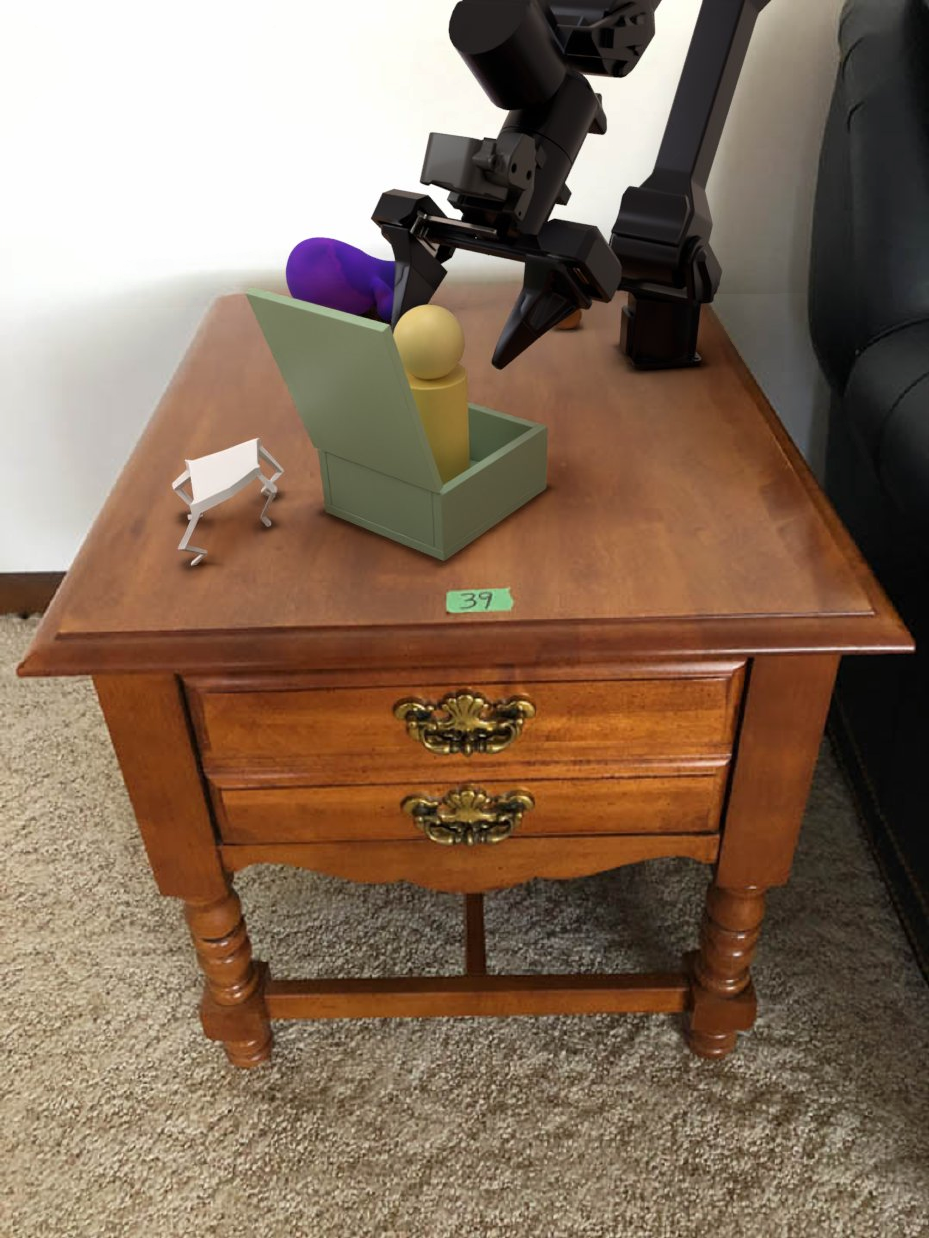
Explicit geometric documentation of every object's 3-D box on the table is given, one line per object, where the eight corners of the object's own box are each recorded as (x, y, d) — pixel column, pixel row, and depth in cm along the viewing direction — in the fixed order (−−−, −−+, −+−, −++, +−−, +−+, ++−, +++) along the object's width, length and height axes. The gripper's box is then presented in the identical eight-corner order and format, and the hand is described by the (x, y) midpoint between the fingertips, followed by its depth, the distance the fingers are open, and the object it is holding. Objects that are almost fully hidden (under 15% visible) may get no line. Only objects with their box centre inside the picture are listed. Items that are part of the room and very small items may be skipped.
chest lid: (251, 286, 65) (244, 293, 64) (389, 324, 59) (382, 331, 58) (319, 441, 75) (313, 447, 74) (443, 487, 69) (437, 493, 68)
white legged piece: (186, 492, 81) (174, 435, 78) (292, 490, 81) (284, 433, 78) (147, 579, 71) (131, 518, 68) (267, 577, 71) (256, 516, 68)
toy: (419, 305, 116) (284, 303, 113) (424, 216, 111) (282, 211, 108) (431, 333, 109) (288, 331, 106) (437, 240, 104) (287, 235, 101)
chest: (431, 448, 86) (428, 389, 83) (546, 488, 80) (548, 426, 77) (325, 512, 78) (317, 449, 75) (444, 561, 72) (441, 495, 69)
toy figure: (424, 469, 81) (413, 289, 73) (482, 483, 79) (478, 300, 71) (389, 499, 78) (373, 314, 69) (449, 515, 75) (441, 325, 67)
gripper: (376, 66, 71) (282, 271, 71) (608, 90, 61) (500, 327, 61) (452, 162, 81) (370, 343, 80) (663, 196, 71) (570, 401, 71)
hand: (443, 352), depth 73 cm, fingers open, 9 cm apart
